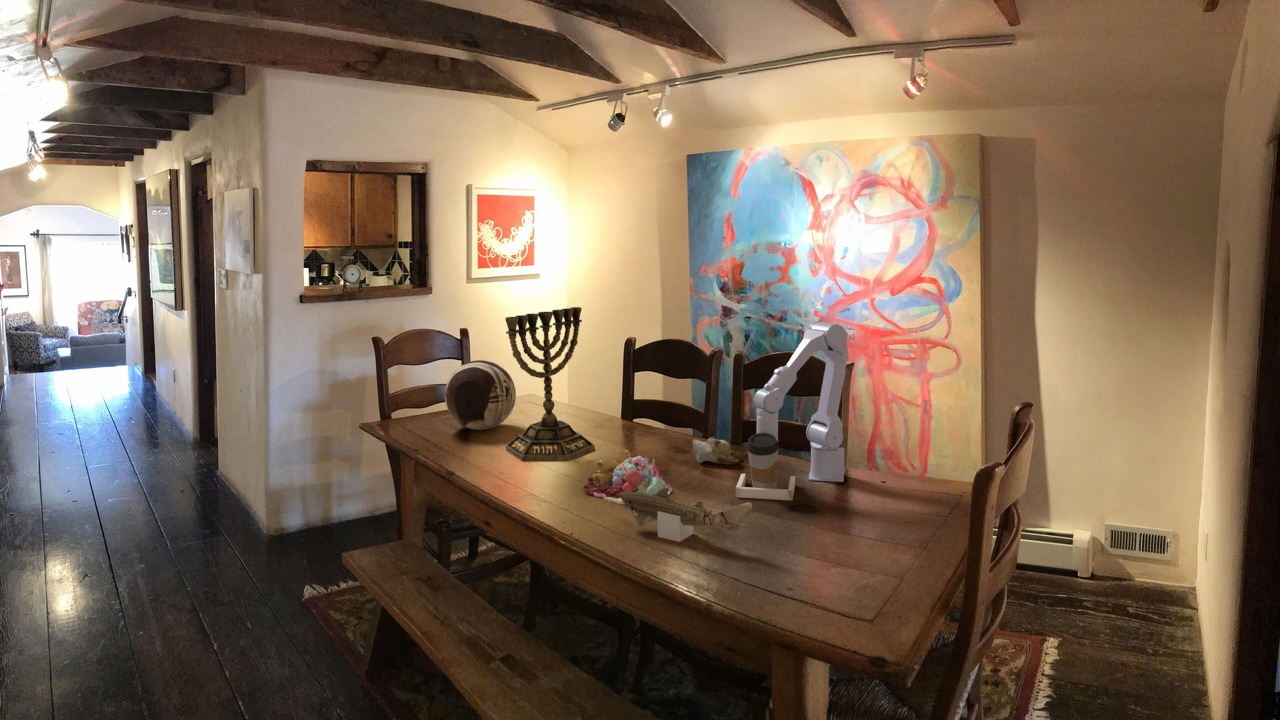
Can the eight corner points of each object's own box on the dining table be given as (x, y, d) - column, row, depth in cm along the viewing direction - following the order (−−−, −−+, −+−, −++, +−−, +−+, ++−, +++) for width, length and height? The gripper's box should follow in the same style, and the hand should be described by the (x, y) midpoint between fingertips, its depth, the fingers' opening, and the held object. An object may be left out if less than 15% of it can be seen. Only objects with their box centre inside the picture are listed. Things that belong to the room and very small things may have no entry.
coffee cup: (770, 500, 218) (767, 451, 212) (743, 491, 223) (740, 443, 217) (786, 484, 224) (784, 436, 218) (759, 476, 229) (757, 429, 223)
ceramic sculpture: (694, 429, 256) (743, 433, 254) (693, 456, 257) (741, 461, 255) (690, 438, 246) (741, 443, 243) (689, 466, 247) (739, 471, 245)
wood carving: (742, 559, 178) (742, 509, 176) (611, 528, 198) (610, 483, 196) (760, 546, 185) (760, 498, 183) (632, 517, 205) (631, 473, 203)
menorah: (546, 469, 247) (540, 319, 240) (483, 458, 260) (476, 316, 253) (613, 441, 277) (610, 308, 270) (553, 433, 290) (549, 305, 283)
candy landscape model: (567, 491, 227) (566, 459, 226) (625, 471, 245) (624, 441, 243) (635, 510, 211) (634, 475, 209) (692, 488, 228) (691, 455, 227)
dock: (794, 485, 228) (795, 476, 228) (792, 500, 215) (792, 491, 215) (741, 482, 231) (741, 473, 231) (735, 497, 219) (735, 488, 218)
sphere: (435, 436, 288) (431, 366, 284) (462, 420, 313) (458, 355, 309) (504, 438, 284) (501, 366, 280) (525, 421, 309) (523, 355, 305)
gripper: (755, 426, 232) (754, 472, 235) (749, 438, 218) (749, 488, 221) (780, 427, 231) (779, 474, 233) (776, 440, 217) (775, 490, 219)
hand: (766, 481), depth 227 cm, fingers closed
